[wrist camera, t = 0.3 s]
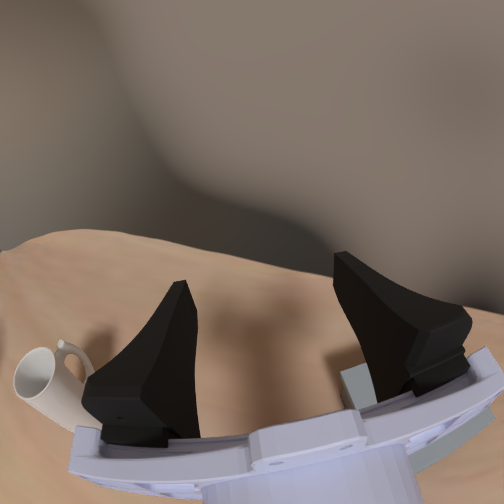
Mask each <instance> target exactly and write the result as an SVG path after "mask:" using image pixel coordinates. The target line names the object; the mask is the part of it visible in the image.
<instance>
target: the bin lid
mask: <svg viewBox="0 0 504 504" xmlns="http://www.w3.org/2000/svg"><path fill="white" fill-rule="evenodd" d="M339 376H340V378H341V380H342V383H343V385H344V388H345V390H346V392H347V395H348V397H349V400H350V402H351V405H352V407H353V409H354V410H359V409H363V408H366V407H369V406H372V405H375V404H377V400H376V396H375V391H374V387H373V383H372V380H371V376H370V373H369V369H368V366H367V363H363V364H361V365H358V366H355V367H352V368H349V369H346V370H344V371H341V372H340V375H339ZM494 419H495V417H494V415H493V413H492V411H491V409H490V407H489V406H488V407H487V408H486V409H485V410H483V411H482V412H480V413H479V414H478V415H476V416H475V417H473V418H472V419H470V420H469V421H467V422H466V423H464V424H462V425H461V426H459V427H458V428H456V429H455V430H453V431H451V432H450V433H448V434H447V435H445V436H443V437H442V438H440V439H438V440H436V441H435V442H433V443H431V444H429V445H428V446H426V447H424V448H422V449H420V450H418V451H416V452H414V453H412V454H410V455H408V457H409V460H410V463H411V466H412V468H413V471H414V474H417V473H419V472H421V471H422V470H424V469H426V468H428V467H429V466H431V465H433V464H434V463H436V462H437V461H439V460H441V459H442V458H444V457H445V456H447V455H448V454H450V453H451V452H453V451H454V450H456V449H457V448H459V447H460V446H461V445H463V444H464V443H466V442H467V441H468V440H470V439H471V438H472V437H474V436H475V435H476V434H477V433H479V432H480V431H481V430H483V429H484V428H485V427H486V426H487V425H489V424H490V423H491V422H492V421H493V420H494Z"/></svg>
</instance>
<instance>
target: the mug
mask: <svg viewBox="0 0 504 504" xmlns="http://www.w3.org/2000/svg"><path fill="white" fill-rule="evenodd" d="M56 348H57V351H56V353H55V354H53V352H52V351H51V350H50V349H49V348H47V347H38V348H35V349H33V350H31V351H30V352H28V353H27V354H26V355H25V356H24V357H23V358H22V359H21V361H20V362H19V364H18V366H17V368H16V371H15V374H14V380H13V384H14V389H15V392H16V394H17V395H18V396H19V397H20V398H21V399H23V400H25V401H26V402H27V403H28V404H30V405H31V406H32V407H34V408H35V409H36V410H38V411H39V412H41V413H42V414H44V415H45V416H47V417H48V418H50V419H51V420H53V421H54V422H56V423H57V424H59V425H61V426H62V427H64V428H65V429H67V430H69V431H70V432H72V433H74V432H75V428H76V426H77V425H79V426H86V427H93V428H97V429H100V430H102V425H103V424H102V423H100V422H99V421H98V420H97V419H95V418H94V417H93V416H92V415H90V414H89V413H88V412H87V411H86V410H85V409H84V408H83V406H82V404H81V399H82V395H83V392H84V388H85V384H86V381H87V377H89V376H90V375H92V374H93V373H95V371H94V368H93V366H92V364H91V362H90V360H89V358H88V356H87V355H86V354H85V352H84V351H83V350H82V349H80V348H79V347H77V346H75V345H73V344H70V343H67V342H65V341H64V340H62V339H60V340H59V342H58V344H57V346H56ZM68 354H75V355H76V356H77V357H79V359H80V360H81V361H82V363H83V365H84V367H85V371H86V379H85V381H84V383H83V384H82V383H81V382H80V381H79V380H78V379H77V378H76V377H75V376H74V375H73V374H72V373H71V372H70V370H69V369H68V368H67V367H66V366H65V364H64V360H65V357H66V356H67V355H68Z"/></svg>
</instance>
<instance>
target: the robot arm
mask: <svg viewBox="0 0 504 504" xmlns="http://www.w3.org/2000/svg"><path fill="white" fill-rule="evenodd" d="M333 287H334V290H335V293H336V295H337V298H338V301H339V303H340V305H341V307H342V309H343V311H344V313H345V315H346V317H347V319H348V321H349V322H350V324H351V326H352V328H353V330H354V332H355V334H356V336H357V338H358V341H359V343H360V346H361V348H362V351H363V354H364V357H365V360H366V363H367V366H368V369H369V373H370V376H371V380H372V383H373V387H374V391H375V396H376V400H377V404H375V405H372V406H369V407H366V408H363V409H359V410H354V409H344V410H339V411H334V412H330V413H327V414H323V415H319V416H315V417H310V418H306V419H301V420H296V421H292V422H286V423H281V424H275V425H271V426H267V427H263V428H259V429H257V430H255V431H253V432H251V433H250V434H244V435H235V436H225V437H212V438H201V436H200V430H199V423H198V414H197V405H196V392H195V357H196V345H197V333H198V319H197V309H196V306H195V304H194V301H193V298H192V295H191V293H190V290H189V287H188V284H187V282H186V280H182V281H176V282H174V283H173V284H172V286H171V287H170V289H169V290H168V292H167V294H166V295H165V297H164V298H163V300H162V302H161V303H160V305H159V306H158V308H157V309H156V311H155V312H154V314H153V315H152V317H151V318H150V319H149V321H148V322H147V324H146V325H145V326H144V327H143V329H142V330H141V331H140V332H139V334H138V335H137V336H136V337H135V338H134V339H133V340H132V341H131V342H130V343H129V344H128V345H127V346H126V347H125V348H124V349H123V350H122V351H121V352H120V353H119V354H118V355H117V356H116V357H114V358H113V359H112V360H111V361H110V362H108V363H107V364H106V365H105V366H103V367H102V368H100V369H99V370H97V371H96V372H95V373H93V374H92V375H90V376H89V377H87V381H86V384H85V388H84V392H83V395H82V399H81V404H82V406H83V408H84V409H85V410H86V411H87V412H88V413H89V414H90V415H92V416H93V417H94V418H95V419H97V420H98V421H99V422H100V423H102V424H103V425H102V430H100V429H97V428H93V427H86V426H79V425H77V426H76V428H75V432H74V438H73V443H72V448H71V454H70V461H69V467H68V471H69V472H70V473H72V474H74V475H76V476H78V477H80V478H83V479H85V480H87V481H89V482H92V483H94V484H96V485H99V486H102V487H107V488H111V489H117V490H122V491H127V492H133V493H139V494H145V495H152V496H160V497H169V498H180V499H195V500H203V504H424V502H423V498H422V495H421V492H420V489H419V486H418V483H417V480H416V477H415V474H414V471H413V468H412V466H411V463H410V460H409V457H408V455H410V454H412V453H414V452H416V451H418V450H420V449H422V448H424V447H426V446H428V445H429V444H431V443H433V442H435V441H436V440H438V439H440V438H442V437H443V436H445V435H447V434H448V433H450V432H451V431H453V430H455V429H456V428H458V427H459V426H461V425H462V424H464V423H466V422H467V421H469V420H470V419H472V418H473V417H475V416H476V415H478V414H479V413H480V412H482V411H483V410H485V409H486V408H487V407H488V406H489V405H490V404H491V403H492V402H493V401H494V400H495V399H496V398H497V397H498V396H499V395H500V394H501V393H502V391H503V390H504V373H503V371H502V369H501V368H500V366H499V365H498V363H497V361H496V360H495V358H494V357H493V355H492V354H491V352H490V351H489V349H488V348H487V346H484V347H483V348H481V349H479V350H478V351H476V352H474V353H472V354H471V355H470V356H468V357H467V358H466V357H465V356H464V353H465V349H464V347H463V346H462V344H463V343H464V341H465V339H466V337H467V336H468V334H469V332H470V330H471V327H472V322H473V321H472V318H471V317H470V316H469V314H468V313H467V312H466V310H465V309H464V308H463V307H462V306H461V305H456V304H451V303H446V302H442V301H439V300H435V299H432V298H429V297H426V296H423V295H421V294H418V293H416V292H413V291H411V290H409V289H407V288H405V287H403V286H400V285H398V284H396V283H394V282H393V281H391V280H389V279H387V278H386V277H384V276H383V275H381V274H379V273H378V272H376V271H375V270H373V269H372V268H370V267H368V266H367V265H366V264H364V263H363V262H361V261H360V260H358V259H357V258H356V257H354V256H353V255H351V254H350V253H348V252H347V251H344V252H338V253H334V275H333Z"/></svg>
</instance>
